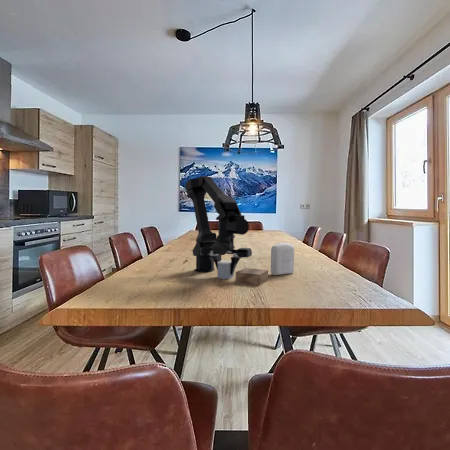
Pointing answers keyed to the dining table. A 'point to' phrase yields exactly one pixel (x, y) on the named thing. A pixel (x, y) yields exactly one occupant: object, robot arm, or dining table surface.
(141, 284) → the dining table surface
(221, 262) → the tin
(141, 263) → the dining table surface
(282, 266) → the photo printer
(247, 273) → the walnut block
